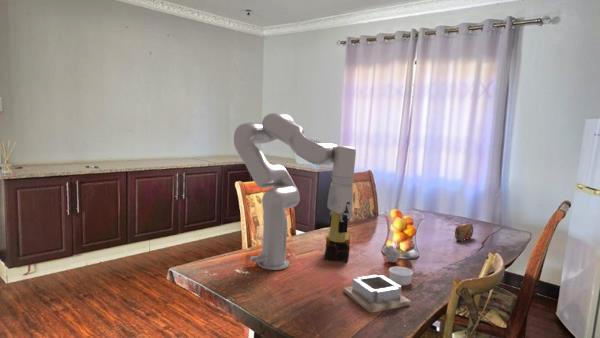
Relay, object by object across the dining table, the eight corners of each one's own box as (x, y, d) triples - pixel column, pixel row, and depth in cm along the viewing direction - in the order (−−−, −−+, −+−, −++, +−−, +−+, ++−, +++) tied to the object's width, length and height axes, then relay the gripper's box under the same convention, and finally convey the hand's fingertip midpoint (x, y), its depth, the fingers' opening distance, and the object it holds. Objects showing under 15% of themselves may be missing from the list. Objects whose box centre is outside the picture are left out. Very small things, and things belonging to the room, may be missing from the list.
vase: (334, 243, 138) (338, 203, 136) (325, 237, 144) (328, 199, 142) (348, 241, 141) (352, 202, 139) (339, 236, 146) (342, 199, 144)
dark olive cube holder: (347, 262, 166) (349, 240, 165) (324, 259, 168) (325, 237, 167) (349, 255, 176) (351, 233, 175) (327, 252, 178) (328, 230, 177)
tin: (458, 242, 205) (460, 226, 204) (452, 240, 207) (454, 225, 206) (472, 238, 214) (474, 223, 213) (467, 236, 216) (469, 221, 215)
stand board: (370, 312, 123) (370, 308, 123) (343, 291, 137) (343, 287, 137) (409, 305, 130) (410, 300, 130) (380, 285, 144) (380, 281, 144)
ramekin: (408, 288, 143) (409, 277, 143) (384, 282, 148) (385, 271, 147) (414, 280, 151) (416, 270, 150) (392, 274, 155) (393, 264, 155)
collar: (371, 305, 125) (372, 293, 125) (350, 289, 136) (351, 278, 136) (402, 299, 131) (403, 287, 130) (379, 284, 142) (380, 273, 141)
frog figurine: (386, 258, 174) (388, 242, 173) (401, 262, 170) (403, 246, 169) (380, 261, 170) (381, 245, 169) (395, 265, 165) (396, 249, 164)
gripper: (321, 176, 145) (317, 223, 148) (346, 185, 130) (341, 237, 132) (339, 176, 149) (334, 222, 151) (365, 185, 133) (359, 236, 136)
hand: (337, 229), depth 142 cm, fingers closed on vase, 5 cm apart
